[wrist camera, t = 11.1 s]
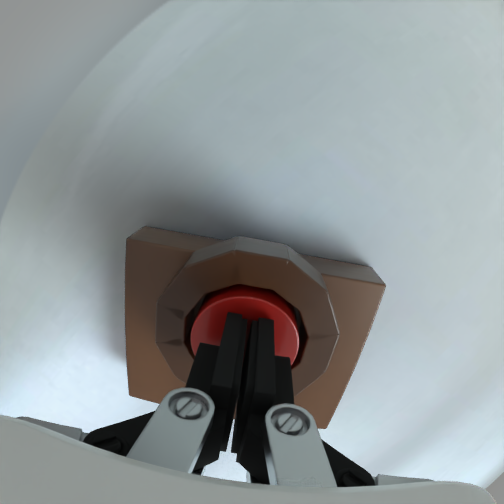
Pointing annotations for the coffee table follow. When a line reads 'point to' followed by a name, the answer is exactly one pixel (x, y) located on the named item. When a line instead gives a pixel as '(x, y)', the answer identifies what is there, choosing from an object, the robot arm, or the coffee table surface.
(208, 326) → the power button
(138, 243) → the power block
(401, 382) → the coffee table surface
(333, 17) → the coffee table surface
